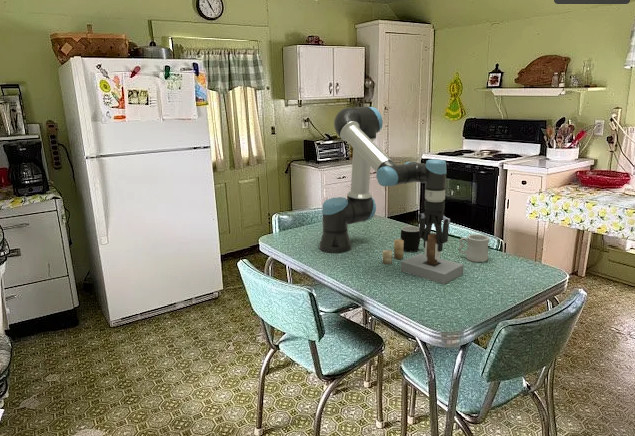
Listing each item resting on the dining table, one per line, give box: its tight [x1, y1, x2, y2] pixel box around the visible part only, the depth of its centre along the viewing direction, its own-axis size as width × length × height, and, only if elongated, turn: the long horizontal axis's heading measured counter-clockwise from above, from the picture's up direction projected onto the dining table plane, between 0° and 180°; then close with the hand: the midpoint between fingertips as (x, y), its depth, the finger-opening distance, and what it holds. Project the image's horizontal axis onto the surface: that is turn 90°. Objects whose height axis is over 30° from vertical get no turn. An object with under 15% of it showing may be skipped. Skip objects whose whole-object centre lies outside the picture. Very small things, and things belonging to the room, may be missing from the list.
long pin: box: [427, 232, 437, 265], centre depth 182 cm, size 4×4×12 cm
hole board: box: [400, 252, 465, 285], centre depth 184 cm, size 20×14×4 cm
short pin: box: [382, 249, 393, 265], centre depth 196 cm, size 4×4×5 cm
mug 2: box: [458, 233, 490, 263], centre depth 198 cm, size 12×9×10 cm
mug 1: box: [400, 225, 421, 253], centre depth 212 cm, size 12×9×10 cm
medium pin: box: [393, 238, 404, 260], centre depth 201 cm, size 4×4×8 cm
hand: (432, 257), depth 183 cm, fingers closed on long pin, 4 cm apart
